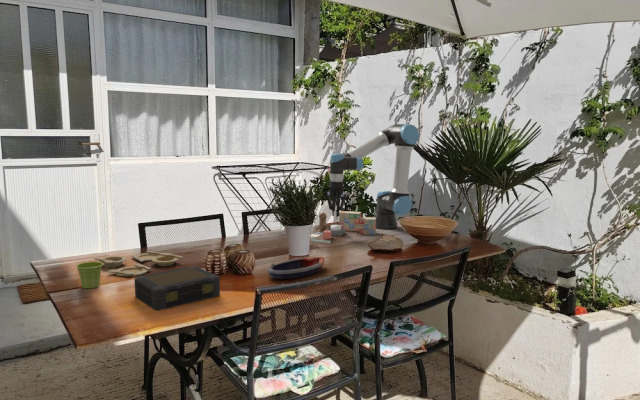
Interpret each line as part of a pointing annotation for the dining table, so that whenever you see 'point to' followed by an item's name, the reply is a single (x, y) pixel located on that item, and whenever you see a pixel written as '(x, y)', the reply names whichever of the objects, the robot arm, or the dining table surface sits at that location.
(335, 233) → the board
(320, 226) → the pawn
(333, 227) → the dome
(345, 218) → the stack of blocks
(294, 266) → the dish
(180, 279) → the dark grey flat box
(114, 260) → the tableware set
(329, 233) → the die
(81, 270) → the plant pot
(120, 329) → the dining table surface
